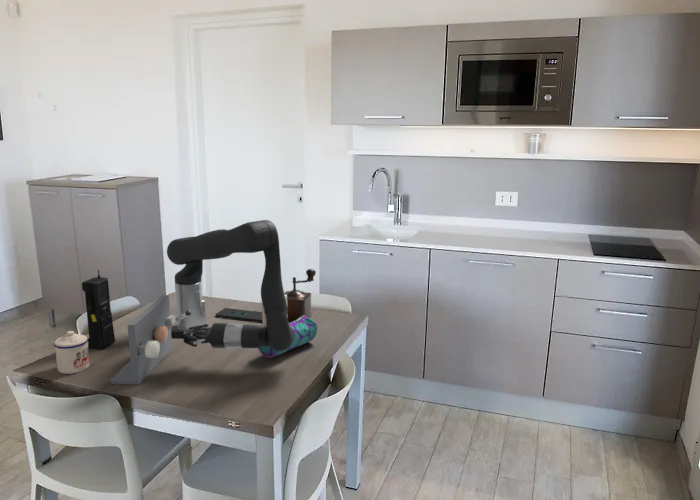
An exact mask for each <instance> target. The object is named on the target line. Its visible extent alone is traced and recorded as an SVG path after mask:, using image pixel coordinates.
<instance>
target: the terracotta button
mask: <svg viewBox="0 0 700 500" xmlns="http://www.w3.org/2000/svg"><path fill="white" fill-rule="evenodd" d="M167 337H168V328H167V326H157V327H156V329H155V330H154V331H153V338H155V341H158V342H166V340H167Z"/></svg>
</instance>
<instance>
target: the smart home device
mask: <svg viewBox="0 0 700 500" xmlns="http://www.w3.org/2000/svg"><path fill="white" fill-rule="evenodd" d="M219 317H222V318H221V319H227V318H230V319H229V320H235V319H237V320H236V321H243V320H244V321H245V322H251V321H255V322H254V323H260V322H263V319H262V311H255V310H246V309H237V308H229V307H224V308H222V309H221V310H220V311H218V312H217V313H215V318H219ZM244 321H243V322H244Z"/></svg>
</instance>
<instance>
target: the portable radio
mask: <svg viewBox="0 0 700 500" xmlns="http://www.w3.org/2000/svg"><path fill="white" fill-rule="evenodd" d="M81 287H82V288H81V289H82V291H83V292H84V298H85V308H86V316H87V318H86V319H87V327H88V337H87V338H88V348H89V349H98V350H104V349H105V348H107V347H109V346H111V345H112V344H114V343H115V342H116V338H115V330H114V329H115V328H114V324H113V323H114V322H113V313H112V310H111V299H110V289H109V279H108V277H103V276H102V277H101V275H100V270H97V277H92V278H89V279H87V280H84V281H82V282H81Z"/></svg>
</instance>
